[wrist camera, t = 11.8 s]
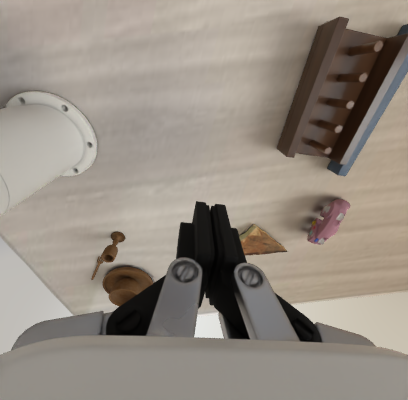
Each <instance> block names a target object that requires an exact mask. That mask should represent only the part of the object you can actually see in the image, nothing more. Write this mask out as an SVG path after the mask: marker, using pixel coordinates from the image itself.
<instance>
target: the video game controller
mask: <svg viewBox="0 0 408 400" xmlns="http://www.w3.org/2000/svg"><path fill="white" fill-rule="evenodd" d="M349 208H350V204H349V203H348V202H347V201H345V200H342V199H336V200H334V201H333V202H331V203H330V204H329V205H328V206H324V207H323V209H322V210H321V213H320V216H322V217H324V219H323V221H322V220H320V219H318V218H316V219H315V220H314V221H313V222H312V227H311V230H310V232H309V234H308V238H307V240H308V241H309V242H311V243H314V244H323V243H324V242H325V241H326V240H327V239H328V238H330V237H331V236H333V235H334V234H335V233H336V232H337V231H338V228H339V225H340V223H341V221H342V220H343V218H344V216H345V214H346V211H347V209H349Z"/></svg>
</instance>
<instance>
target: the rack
mask: <svg viewBox="0 0 408 400" xmlns="http://www.w3.org/2000/svg"><path fill="white" fill-rule="evenodd" d="M348 21H349V19H348V18H343V17H338V18H336V19H334V20H331V21H329V22H327V23H325V24H323V25H321V26H319V27H318V30H317V33H316V36H315V39H314V42H313V45H312V48H311V51H310V53H309V56H308V59H307V62H306V65H305V68H304V71H303V74H302V77H301V80H300V82H299V85H298V88H297V91H296V94H295V97H294V100H293V103H292V106H291V109H290V111H289V114H288V117H287V120H286V123H285V126H284V129H283V132H282V135H281V138H280V140H279V143H278V146H277V149H278V150H279V151H280V152H281V153H283V154H284V155H285V156H286V157H293V158H294V156H295V153H299V154H306V155H313V156H320V157H327V158H329V159H331V160H333V161H335V162H337V163H338V164H342V165H346V164H347V163H348V161H349V159H350V157H351V155H352V153H353V152H354V150H355V148H356V146H357V144H358V143H359V141H360V139H361V137H362V135H363V134H364V132H365V130H366V128H367V126H368V125H369V123H370V121H371V119H372V117H373V115H374V114H375V112H376V110H377V108H378V106H379V105H380V103H381V101H382V99H383V97H384V96H385V94H386V92H387V90H388V88H389V87H390V85H391V83H392V81H393V79H394V77H395V76H396V74H397V72H398V70H399V68H400V67H401V65H402V63H403V61H404V59H405V58H406V56H407V54H408V33H407V34H403V35H399V36H394V37H390V38H384V37H379V36H375V35H371V34H366V33H362V32H358V31H353V30H349V29H345V28H346V26H347V23H348Z"/></svg>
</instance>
